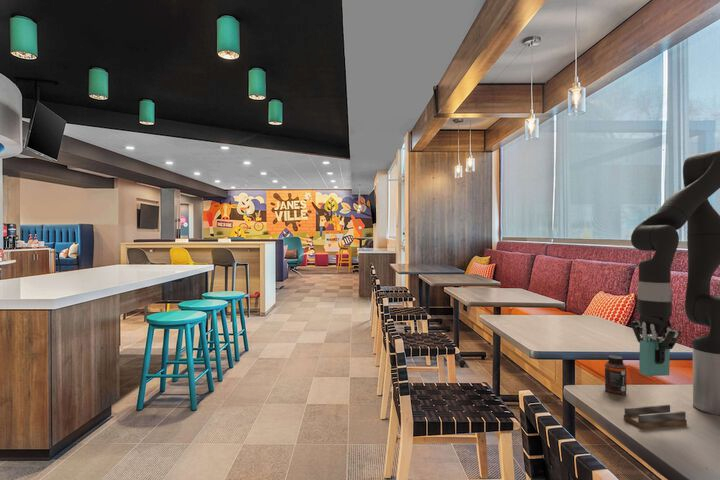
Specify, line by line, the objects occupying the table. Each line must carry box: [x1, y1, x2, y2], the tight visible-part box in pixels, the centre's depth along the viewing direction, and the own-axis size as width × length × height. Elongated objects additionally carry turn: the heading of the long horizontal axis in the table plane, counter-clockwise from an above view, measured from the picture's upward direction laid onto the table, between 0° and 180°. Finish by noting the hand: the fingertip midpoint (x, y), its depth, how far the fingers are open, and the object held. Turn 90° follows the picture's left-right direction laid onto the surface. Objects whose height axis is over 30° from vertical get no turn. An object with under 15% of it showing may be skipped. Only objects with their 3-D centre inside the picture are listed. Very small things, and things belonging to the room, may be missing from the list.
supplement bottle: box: [604, 354, 628, 395], centre depth 129 cm, size 6×6×11 cm
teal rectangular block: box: [638, 340, 671, 377], centre depth 108 cm, size 7×2×9 cm, turn 99°
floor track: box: [623, 404, 688, 429], centre depth 108 cm, size 14×6×3 cm, turn 99°
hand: (654, 361), depth 108 cm, fingers closed on teal rectangular block, 2 cm apart
